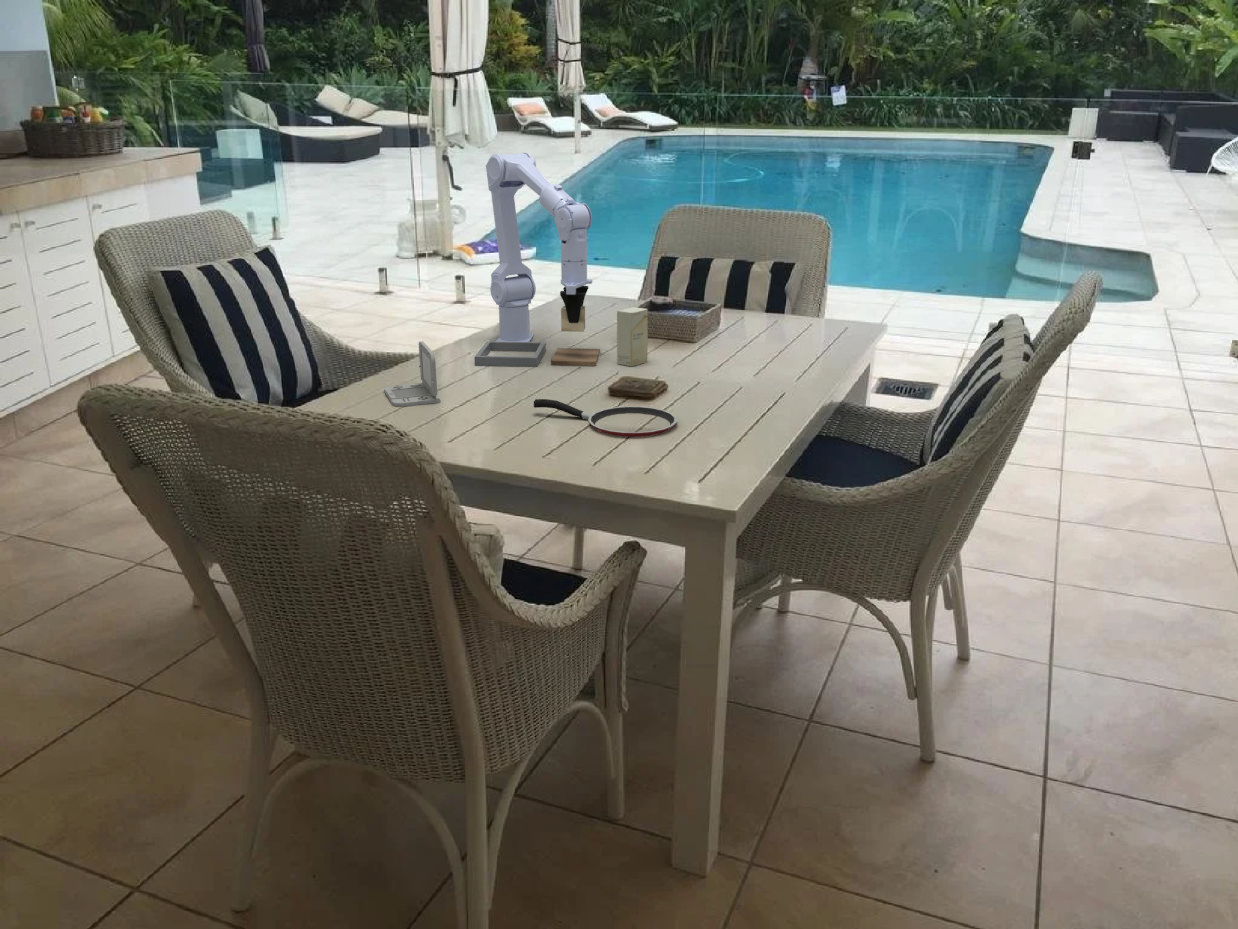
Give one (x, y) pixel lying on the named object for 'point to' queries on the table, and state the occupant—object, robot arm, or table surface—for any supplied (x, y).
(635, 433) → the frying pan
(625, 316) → the skincare box
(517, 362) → the grey bin
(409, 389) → the handheld gaming console
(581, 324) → the maple block
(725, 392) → the table surface
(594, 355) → the walnut board
